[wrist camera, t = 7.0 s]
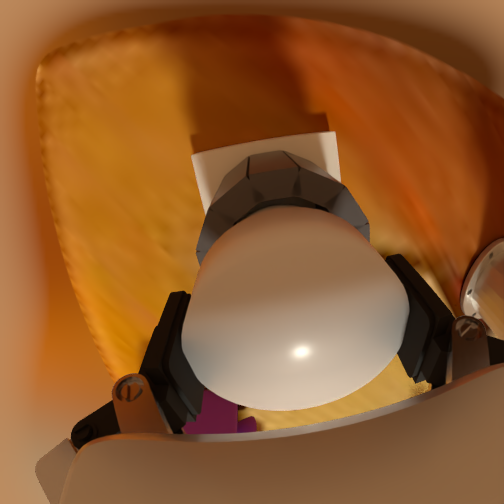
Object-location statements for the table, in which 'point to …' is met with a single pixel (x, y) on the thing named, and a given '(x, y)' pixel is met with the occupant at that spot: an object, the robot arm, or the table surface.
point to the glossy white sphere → (292, 311)
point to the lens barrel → (271, 182)
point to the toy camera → (219, 417)
